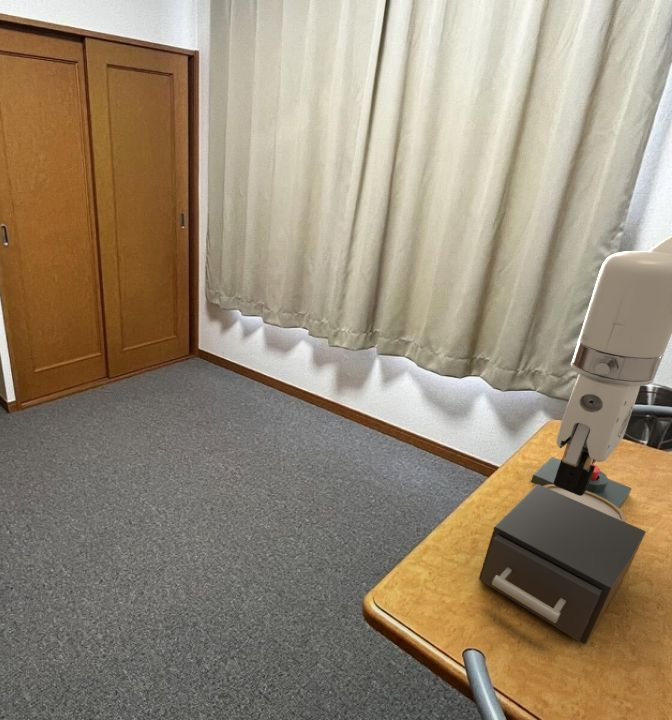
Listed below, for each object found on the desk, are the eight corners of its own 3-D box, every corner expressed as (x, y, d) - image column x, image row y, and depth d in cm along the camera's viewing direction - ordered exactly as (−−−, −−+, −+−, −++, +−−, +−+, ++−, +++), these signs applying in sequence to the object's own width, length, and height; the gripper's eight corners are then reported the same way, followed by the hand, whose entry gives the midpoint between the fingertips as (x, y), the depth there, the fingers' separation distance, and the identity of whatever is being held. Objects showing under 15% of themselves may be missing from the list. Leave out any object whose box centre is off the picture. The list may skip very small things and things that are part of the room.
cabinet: (585, 644, 58) (611, 588, 55) (478, 578, 68) (494, 526, 64) (621, 584, 66) (646, 531, 63) (521, 532, 76) (537, 483, 72)
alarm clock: (624, 501, 77) (634, 542, 65) (614, 527, 78) (622, 572, 67) (541, 475, 84) (536, 508, 72) (533, 500, 85) (527, 536, 73)
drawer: (566, 660, 56) (587, 614, 53) (467, 595, 64) (480, 551, 61) (613, 585, 65) (632, 541, 62) (521, 536, 74) (534, 496, 70)
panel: (628, 495, 83) (635, 479, 82) (612, 518, 78) (619, 501, 77) (549, 463, 92) (554, 448, 91) (530, 482, 87) (535, 466, 86)
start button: (599, 475, 83) (603, 467, 83) (592, 483, 81) (596, 475, 81) (575, 465, 86) (578, 457, 85) (568, 473, 84) (571, 465, 83)
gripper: (639, 391, 48) (585, 530, 55) (671, 353, 57) (621, 478, 64) (553, 368, 54) (514, 498, 61) (594, 337, 62) (555, 454, 69)
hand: (569, 487), depth 62 cm, fingers closed
